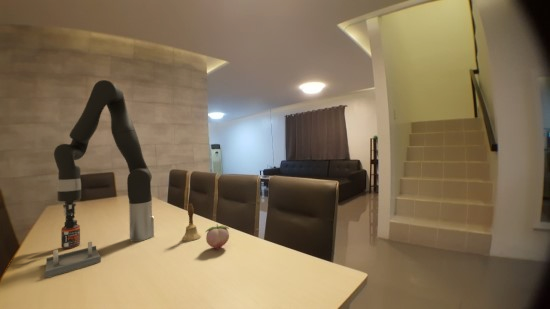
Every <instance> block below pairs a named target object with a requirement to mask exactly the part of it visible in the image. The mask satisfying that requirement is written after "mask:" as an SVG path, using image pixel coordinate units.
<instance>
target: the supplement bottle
mask: <svg viewBox="0 0 550 309" xmlns="http://www.w3.org/2000/svg"><path fill="white" fill-rule="evenodd" d="M60 235H61V249H63V250H69V249H73V248H76V247H78V246H80V244H81V225H80V224H78V220H77V219H74V220H73V228H70V229H67V228H66V222H64V226H63V227H62V228H61V234H60Z"/></svg>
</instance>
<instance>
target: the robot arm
mask: <svg viewBox="0 0 550 309" xmlns="http://www.w3.org/2000/svg"><path fill="white" fill-rule="evenodd" d="M105 107H107V109H108V112H109V115H110V129H111V130H110V131H111V134H112V138H113V141H114V143H115V145H116V147H117V150H119V152H120V154H121V155H122V157H123V158H124V160H125V161H126V165H127V168H128V171H129V174H128V175H127V182H126V184H127V198H128V206H129V207H128V209H129V210H128V211H129V214H128V215H129V241H131V242H140V241H144V240H148V239H151V238H152V237H155V230H154V228H155V224H154V220H155V219H154V218H155V217H154V216H153V203H152V201H153V200H152V199H153V198H152V197H153V196H152V190H151V187H152V185H151V182H152V179H153V178H152V177H153V176H152V173H151V170H150V169H149V167H148V166H147V162H146V161H145V159H144V155H143V151H142V146H141V143H140V140H139V137H138V135H137V131H136V129H135V127H134V123H133V122H132V119H131V117H130V114H129V112H128V108H127V104H126V99H125V96H124V92H123V90H122V89H121V87H119V85H116V84H115V83H114V82H111V81H110V80H107V79H101V80H98V81H97V82H95V84H94V86H93V87H92V89H91V92H90V95H89V98H88V100H87V102H86V105H85V106H84V109H83V111H82V113H81V115H80V117H79V118H78V120H77V121H76V123H75V125H74V126H73V128H72V130H71V131H70V133H69V138H70V139H71V142H70V143H61V144H58V145H57V146H56V147H55V149H54V151H53V158H54V160H55V164H56V167H57V169H58V176H57V178H58V179H57V180H58V182H57V195H56V196H57V202H62V203H63V202H64V204H63V205H62V210H63V215H64V216H65V220H64V221H65V222H66V228H67V229H70V228H73V220H75V218H76V217H75V214H76V208H77V204H76V203H75V201H78V200H81V199H82V181H81V168H80V166H78V165H77V164H76V163H75V161H77V160H80V159H81V158H83V156H85V154H86V152H87V150H88V146H89V142H90V140H91V138H92V137H93V135H94V133H95V132H96V130H97V128H98V126H99V123H100V119H101V114H102V112H103V111H104V109H105ZM65 222H64V223H65Z"/></svg>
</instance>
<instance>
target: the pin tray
mask: <svg viewBox="0 0 550 309" xmlns="http://www.w3.org/2000/svg"><path fill="white" fill-rule="evenodd" d="M52 255H53V256H49V257H46V265H45V271H44V279H48V278H51V277H55V276H59V275H62V274H64V273H65V274H66V273H68V272H72V271H75V270H78V269H81V268H85V267H89V266H92V265H96V264H98V263H101V262H102V259H101V258H102V257H101V255H100V254H99V252H98V250H97V245H93V241H89V242H87V247H86V248H81V249H77V250H72V251H70V252H65V253H62V254H59V249H53V251H52Z"/></svg>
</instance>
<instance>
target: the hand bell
mask: <svg viewBox="0 0 550 309" xmlns="http://www.w3.org/2000/svg"><path fill="white" fill-rule="evenodd" d="M194 209H195V208H194V206H193V203H189V204H188V207H187V214H188V225H187V226H186V227H185V232H184V235H183V236H182V238H181V240H182V241H184V242H193V241H196V240H198V239H200V238H201V237H202V235H201V234H200V233H199V232H198V229H197V225H195V224H194V220H193V218H194V217H193V216H194V212H195V211H194Z"/></svg>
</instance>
